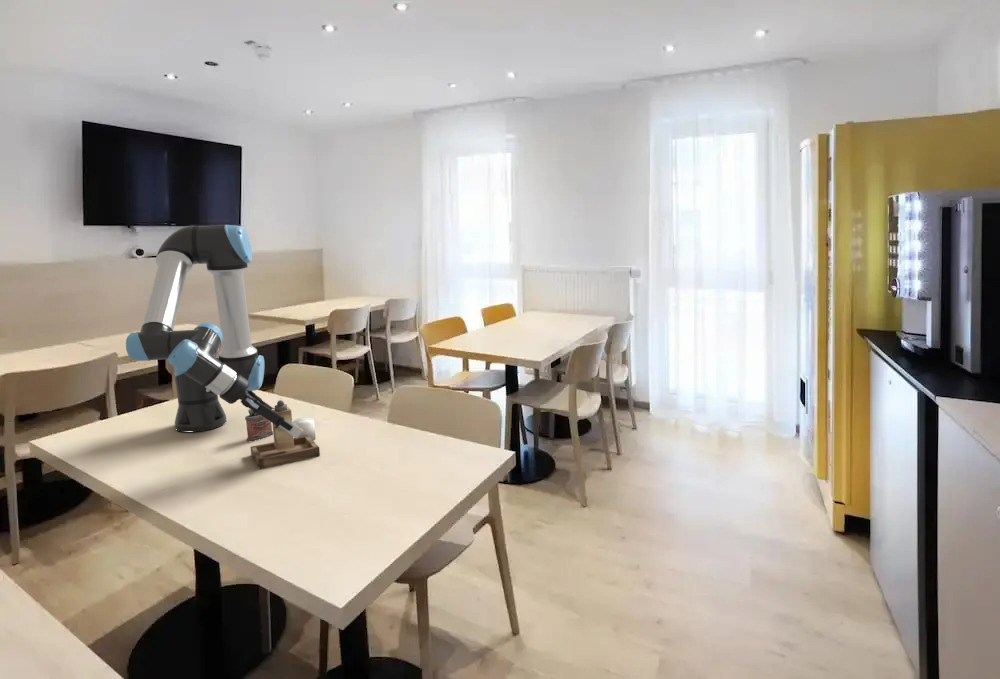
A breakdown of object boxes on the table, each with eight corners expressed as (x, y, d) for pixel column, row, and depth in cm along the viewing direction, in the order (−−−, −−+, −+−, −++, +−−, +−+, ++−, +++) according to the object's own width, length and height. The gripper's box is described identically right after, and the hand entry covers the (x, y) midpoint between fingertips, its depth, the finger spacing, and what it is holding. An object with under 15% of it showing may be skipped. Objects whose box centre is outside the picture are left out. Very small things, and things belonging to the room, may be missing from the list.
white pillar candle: (292, 438, 176) (291, 419, 175) (312, 434, 179) (311, 416, 178) (297, 444, 171) (295, 425, 170) (317, 440, 174) (316, 421, 173)
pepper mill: (274, 446, 163) (270, 399, 160) (290, 443, 165) (286, 397, 162) (278, 451, 159) (273, 403, 156) (294, 447, 161) (290, 400, 159)
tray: (251, 455, 163) (250, 446, 163) (308, 443, 172) (308, 435, 171) (259, 469, 153) (258, 460, 153) (319, 455, 162) (319, 447, 161)
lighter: (251, 442, 173) (247, 410, 171) (245, 440, 175) (241, 408, 173) (275, 434, 180) (272, 403, 178) (269, 432, 182) (266, 402, 180)
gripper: (213, 388, 158) (281, 433, 170) (222, 403, 143) (296, 452, 155) (232, 367, 160) (298, 413, 171) (243, 380, 145) (314, 429, 157)
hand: (297, 431), depth 163 cm, fingers closed on pepper mill, 4 cm apart
